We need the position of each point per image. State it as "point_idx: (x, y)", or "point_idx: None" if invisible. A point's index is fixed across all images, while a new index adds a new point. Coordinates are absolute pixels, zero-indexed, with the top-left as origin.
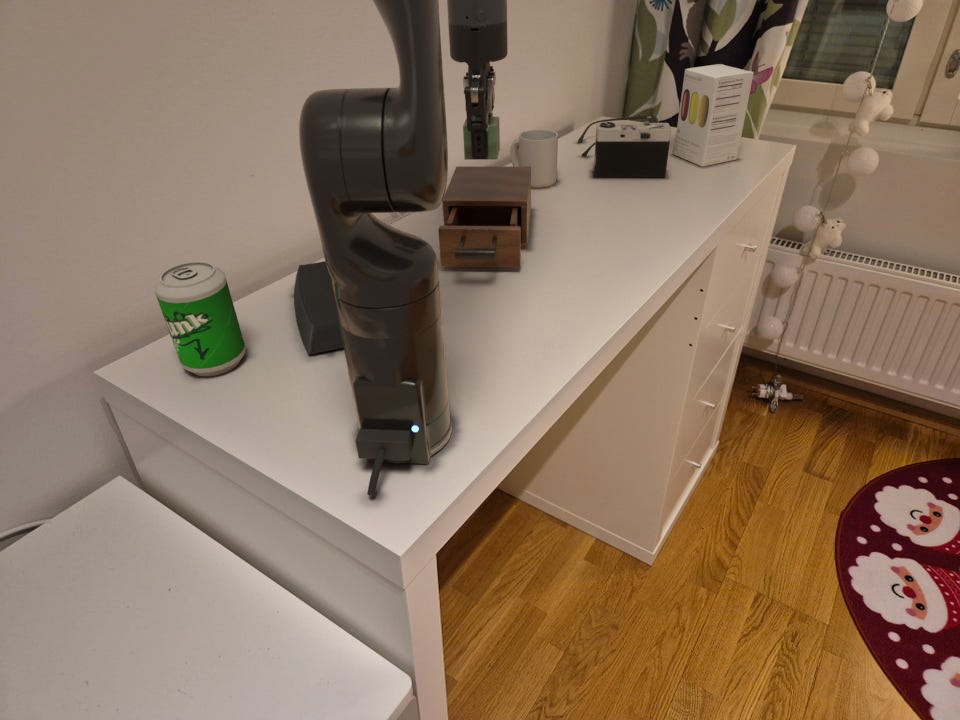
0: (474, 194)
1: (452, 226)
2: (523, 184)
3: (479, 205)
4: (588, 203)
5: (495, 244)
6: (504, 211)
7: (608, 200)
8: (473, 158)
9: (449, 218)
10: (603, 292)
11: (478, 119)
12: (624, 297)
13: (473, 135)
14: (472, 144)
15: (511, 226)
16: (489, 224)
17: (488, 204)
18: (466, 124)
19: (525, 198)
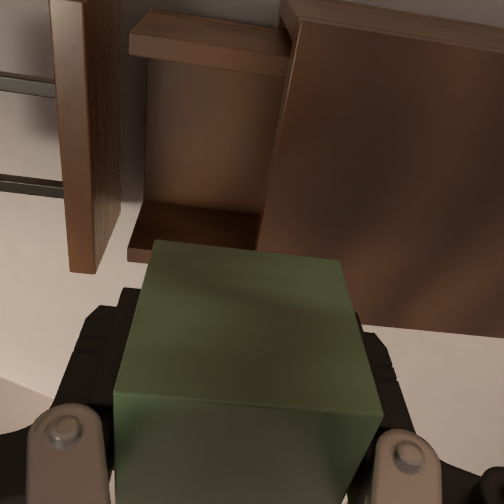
0: (341, 161)
1: (75, 59)
2: (391, 314)
3: (269, 168)
4: (473, 366)
5: (11, 192)
6: None
7: (472, 398)
8: (125, 287)
9: (176, 45)
10: (32, 336)
11: (283, 468)
12: (18, 361)
13: (54, 402)
14: (107, 342)
15: (90, 252)
16: None
17: (264, 200)
18: (152, 413)
19: None
